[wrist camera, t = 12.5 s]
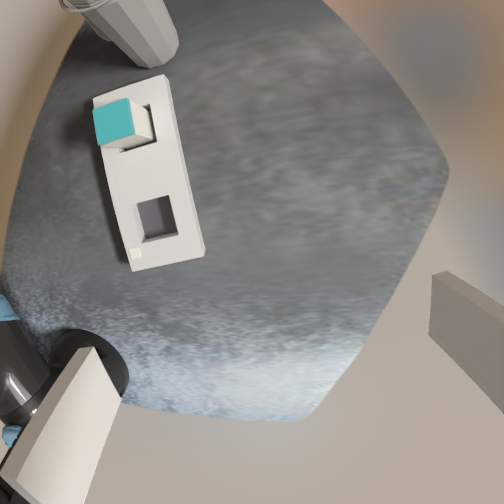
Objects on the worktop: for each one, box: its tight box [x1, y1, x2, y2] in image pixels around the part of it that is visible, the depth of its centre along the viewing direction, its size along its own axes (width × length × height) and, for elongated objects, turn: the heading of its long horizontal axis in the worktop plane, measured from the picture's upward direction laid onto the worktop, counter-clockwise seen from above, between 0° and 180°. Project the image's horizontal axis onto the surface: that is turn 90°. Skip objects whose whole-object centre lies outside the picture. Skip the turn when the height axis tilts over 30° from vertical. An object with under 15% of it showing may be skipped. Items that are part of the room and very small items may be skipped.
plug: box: [92, 97, 156, 149], centre depth 31 cm, size 4×5×10 cm
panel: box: [93, 74, 205, 272], centre depth 37 cm, size 10×24×3 cm, turn 11°
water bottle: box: [59, 0, 179, 68], centre depth 22 cm, size 9×8×25 cm
